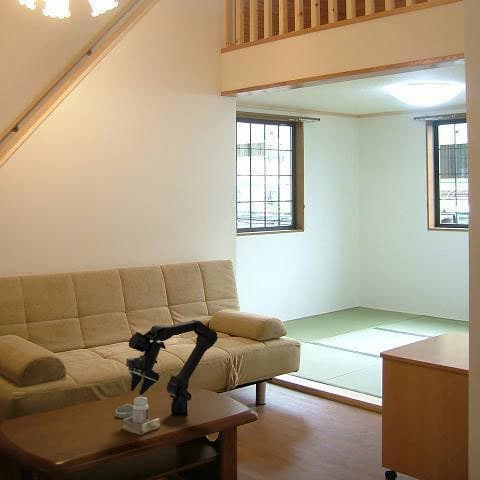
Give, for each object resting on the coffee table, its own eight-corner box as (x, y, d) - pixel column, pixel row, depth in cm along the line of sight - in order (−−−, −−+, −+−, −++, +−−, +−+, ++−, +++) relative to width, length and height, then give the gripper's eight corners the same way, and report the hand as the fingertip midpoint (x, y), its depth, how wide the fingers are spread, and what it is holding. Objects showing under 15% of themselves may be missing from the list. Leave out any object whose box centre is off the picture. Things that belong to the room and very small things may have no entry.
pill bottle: (144, 423, 270) (143, 395, 269) (151, 427, 265) (151, 398, 264) (130, 426, 266) (129, 398, 266) (137, 430, 261) (137, 401, 261)
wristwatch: (139, 415, 283) (139, 403, 283) (134, 419, 277) (134, 407, 277) (118, 413, 285) (118, 402, 284) (113, 418, 279) (113, 406, 278)
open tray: (140, 422, 273) (140, 413, 273) (159, 427, 267) (159, 418, 266) (121, 429, 264) (121, 420, 264) (140, 434, 258) (140, 425, 258)
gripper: (124, 346, 278) (110, 382, 275) (142, 351, 262) (127, 390, 259) (147, 355, 283) (133, 391, 280) (166, 361, 267) (151, 399, 264)
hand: (135, 392), depth 270 cm, fingers open, 9 cm apart
